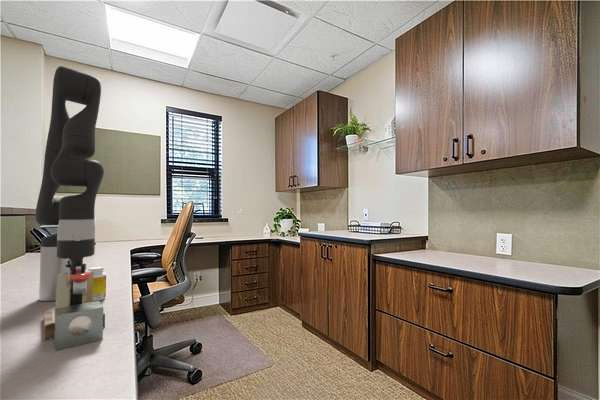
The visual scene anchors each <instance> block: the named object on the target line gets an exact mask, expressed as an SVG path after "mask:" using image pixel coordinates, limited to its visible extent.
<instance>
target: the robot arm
mask: <svg viewBox="0 0 600 400" xmlns="http://www.w3.org/2000/svg"><path fill="white" fill-rule="evenodd" d="M52 81H53V83H52V96H51V112H50V113H51V114H50V122H49V127H48V133H47V138H46V145H45V151H44V162H43V170H42V172H43V173H42V179H41V185H40V189H39V193H38V198H37V202H36V208H35V221H36V223H37V224H38V225H40V226H57V230H56V231H57V232H56V233H53V234H50V235H47V236H44V237H42V238H41V241H40V256H39V257H40V259H39V261H40V263H39V264H40V265H39V288H38V289H39V290H38V291H39V292H38V293H39V294H38V300H39V302H40V301H41V302H51V301H56V290H57V275H59V274H64V273H67V275H68V278H67V279H68V280H67V284H70V290H69V292H70V306H73V305H79V304H82V293H81V294H73V281H69V275H70V274H75V273H84V272H85V271H87V263H86V262H84V258H88V257H93V256H94V255H95V251H96V250H95V249H96V246H95V245H96V244H95V243H96V225H95V207H96V205H95V204H96V198H97V194H98V193H99V188H100V186H101V184H102V181H103V178H104V174H105V170H104V167H103V165H102V163H101V162H99V161H98V160H95V159H90V158H92V157H93V156H94V155H95V154H96V153H95V152H96V126H97V121H98V116H99V110H100V104H101V98H102V97H101V96H102V84H101V80H100V79H99V78H98V77H97V76H94V75H93V74H89V73H87V72H82V71H79V70H76V69H73V68H69V67H66V66H63V65H60V66H58V67H57V68H56V70H55V72H54V75H53V80H52ZM67 101H68V102H71V103H74V104H79V105H82V106H85V107H84V108H83V109H81V110H80V111H79V112H77V113H76V114H74V115H73V116H72V117H70V115H69V112H68V110H67V106H66V102H67ZM61 186H62V187H63V186H65V187H85V188H86V189H85V191H84V192H81V193H79V194H73V195H67V196H63V197H54V196H55V194H56V193H57V191H58V190H59V189H60V187H61Z"/></svg>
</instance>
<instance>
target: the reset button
mask: <svg viewBox="0 0 600 400" xmlns="http://www.w3.org/2000/svg"><path fill="white" fill-rule="evenodd" d="M90 278H91V273H90V272H84V273H75V274H70V275H69V281H73V294H81V293H85V292H87V279H90Z"/></svg>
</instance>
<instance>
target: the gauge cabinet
mask: <svg viewBox="0 0 600 400" xmlns="http://www.w3.org/2000/svg"><path fill="white" fill-rule="evenodd" d="M55 308H56V307H55ZM55 308H54V323H55V325H54V338H53V344H54V345H53V346H54V352H56V351H61V350H65V349H68V348H72V347H77V346H79V345H80V346H81V345H85V344H89V343H92V342H97V341H100V340H103V337H104V335H103V333H104V327H103V313H104V306H103V304H102V303H101V300H99V301H94V302H90V303H85V304H79V305H73V306H67V307H61V308H56V309H55Z"/></svg>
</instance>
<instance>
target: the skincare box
mask: <svg viewBox="0 0 600 400" xmlns="http://www.w3.org/2000/svg"><path fill="white" fill-rule="evenodd" d="M85 272H90V273H91V278H90V279H87V292H85V293H82V304H85V303H90V302H92V291H93V271H89V270H86V271H85ZM67 278H68V275H67V273H64V274H59V275H57V290H56V300H55V308H54V310H55V309H56V308H61V307H67V306H70V292H69V290H70V284H67V280H68V279H67Z"/></svg>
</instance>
